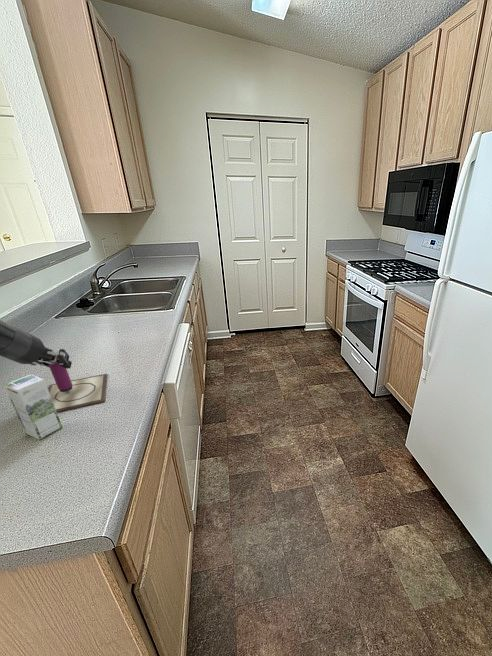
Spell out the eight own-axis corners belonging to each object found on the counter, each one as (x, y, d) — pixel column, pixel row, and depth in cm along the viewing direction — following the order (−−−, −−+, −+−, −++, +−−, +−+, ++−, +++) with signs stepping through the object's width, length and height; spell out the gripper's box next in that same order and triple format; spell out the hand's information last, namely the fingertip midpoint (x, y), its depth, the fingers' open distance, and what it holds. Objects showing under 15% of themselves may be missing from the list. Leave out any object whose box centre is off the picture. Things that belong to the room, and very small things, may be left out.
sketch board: (37, 417, 89) (36, 414, 88) (49, 386, 103) (49, 384, 103) (105, 402, 95) (104, 400, 94) (107, 374, 109) (107, 372, 109)
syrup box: (50, 421, 87) (29, 373, 80) (64, 427, 84) (43, 378, 78) (26, 434, 82) (2, 383, 76) (40, 441, 80) (16, 389, 73)
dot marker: (58, 393, 96) (44, 359, 92) (60, 387, 99) (47, 354, 94) (72, 390, 98) (59, 357, 93) (74, 385, 101) (61, 352, 96)
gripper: (47, 329, 82) (89, 352, 99) (-11, 331, 82) (41, 354, 98) (41, 357, 80) (84, 377, 96) (-19, 359, 80) (35, 378, 96)
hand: (62, 365), depth 97 cm, fingers closed on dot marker, 3 cm apart
